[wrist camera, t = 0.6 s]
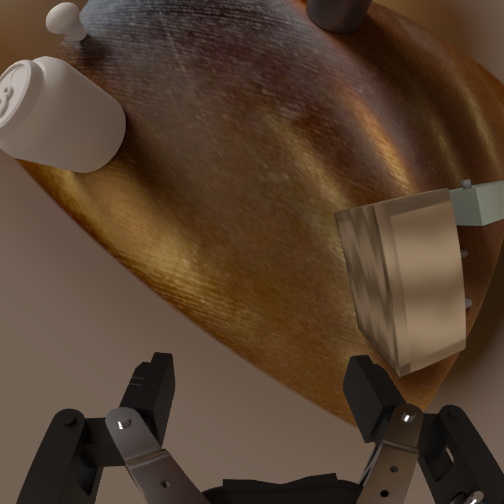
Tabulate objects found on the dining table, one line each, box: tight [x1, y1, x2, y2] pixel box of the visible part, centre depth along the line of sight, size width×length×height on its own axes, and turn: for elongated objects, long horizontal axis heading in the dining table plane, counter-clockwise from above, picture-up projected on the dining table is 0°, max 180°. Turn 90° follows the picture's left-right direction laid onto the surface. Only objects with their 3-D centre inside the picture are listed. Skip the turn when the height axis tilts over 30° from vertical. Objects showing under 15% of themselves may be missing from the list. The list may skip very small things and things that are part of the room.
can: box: [0, 56, 126, 173], centre depth 28 cm, size 12×12×20 cm
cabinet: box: [334, 188, 472, 377], centre depth 30 cm, size 18×19×15 cm
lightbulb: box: [46, 2, 87, 41], centre depth 31 cm, size 6×6×11 cm
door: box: [449, 179, 504, 226], centre depth 30 cm, size 5×8×13 cm, turn 105°
